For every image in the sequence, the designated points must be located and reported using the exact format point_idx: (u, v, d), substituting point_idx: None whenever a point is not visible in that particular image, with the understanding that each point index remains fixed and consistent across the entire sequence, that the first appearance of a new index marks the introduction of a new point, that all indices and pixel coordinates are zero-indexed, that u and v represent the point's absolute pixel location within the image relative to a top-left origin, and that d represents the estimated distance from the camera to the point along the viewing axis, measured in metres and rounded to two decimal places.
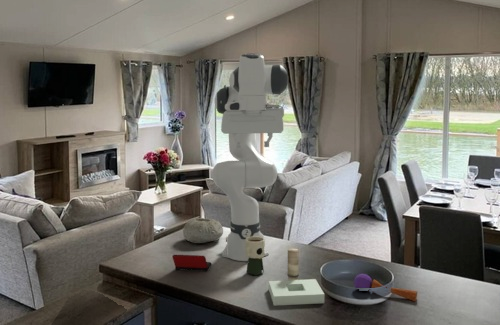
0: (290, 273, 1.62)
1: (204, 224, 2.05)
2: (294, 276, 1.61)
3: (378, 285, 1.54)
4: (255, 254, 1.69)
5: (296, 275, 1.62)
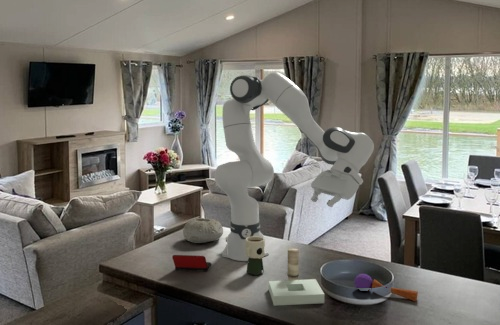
0: (290, 273, 1.62)
1: (204, 224, 2.05)
2: (294, 276, 1.61)
3: (378, 285, 1.54)
4: (255, 254, 1.69)
5: (296, 275, 1.62)
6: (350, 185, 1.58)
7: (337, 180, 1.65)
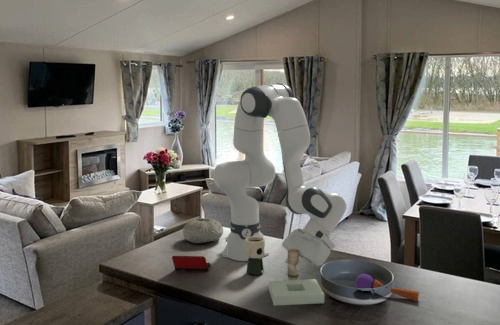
0: (290, 273, 1.62)
1: (204, 224, 2.05)
2: (294, 276, 1.61)
3: (379, 285, 1.54)
4: (255, 254, 1.69)
5: (296, 275, 1.62)
6: (322, 251, 1.56)
7: (308, 243, 1.62)
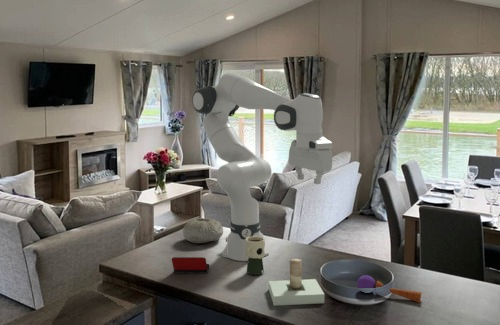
0: (293, 285, 1.52)
1: (204, 224, 2.05)
2: (297, 288, 1.52)
3: None
4: (255, 254, 1.69)
5: (299, 287, 1.52)
6: (324, 159, 1.53)
7: (309, 155, 1.59)
